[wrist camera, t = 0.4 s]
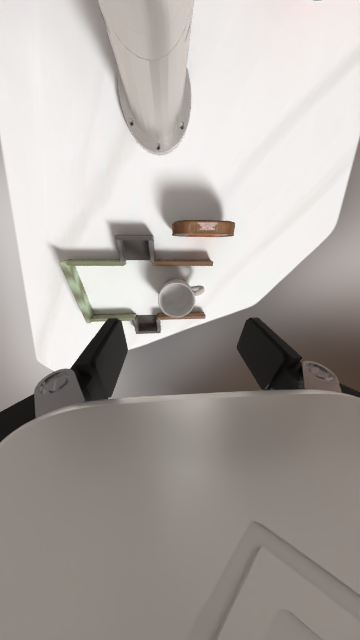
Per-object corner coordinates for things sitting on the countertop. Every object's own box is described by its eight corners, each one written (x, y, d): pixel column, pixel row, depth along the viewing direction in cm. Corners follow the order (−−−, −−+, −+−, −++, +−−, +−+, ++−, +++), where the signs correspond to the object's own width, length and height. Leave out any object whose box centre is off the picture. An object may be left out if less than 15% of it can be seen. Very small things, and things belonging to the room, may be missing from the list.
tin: (171, 236, 36) (172, 237, 29) (171, 221, 34) (172, 219, 27) (225, 237, 37) (239, 238, 30) (228, 223, 35) (243, 220, 28)
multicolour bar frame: (58, 234, 34) (46, 234, 30) (213, 236, 37) (218, 237, 33) (97, 330, 51) (93, 337, 47) (201, 326, 54) (203, 333, 50)
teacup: (163, 308, 48) (162, 320, 41) (155, 278, 42) (153, 287, 35) (201, 301, 47) (207, 312, 41) (199, 270, 41) (205, 277, 35)
